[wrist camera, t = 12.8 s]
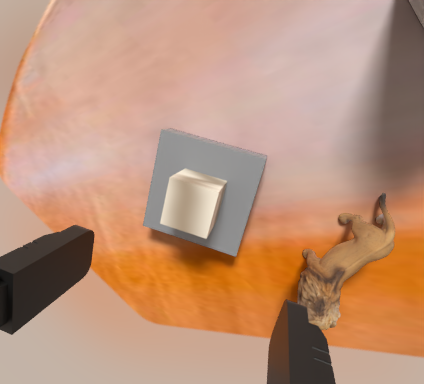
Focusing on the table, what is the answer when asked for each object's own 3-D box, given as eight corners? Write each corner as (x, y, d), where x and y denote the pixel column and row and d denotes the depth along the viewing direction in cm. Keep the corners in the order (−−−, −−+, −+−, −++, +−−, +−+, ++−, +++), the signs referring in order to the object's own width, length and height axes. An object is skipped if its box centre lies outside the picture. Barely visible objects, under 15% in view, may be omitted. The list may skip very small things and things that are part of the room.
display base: (267, 155, 33) (266, 159, 30) (239, 245, 36) (235, 256, 33) (170, 128, 34) (161, 129, 31) (152, 217, 38) (142, 225, 35)
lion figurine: (318, 296, 36) (332, 351, 27) (282, 272, 36) (285, 320, 27) (402, 204, 31) (451, 237, 22) (360, 177, 31) (393, 200, 23)
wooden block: (227, 180, 31) (219, 192, 26) (216, 221, 33) (206, 238, 28) (185, 168, 32) (169, 177, 27) (176, 208, 33) (159, 223, 29)
